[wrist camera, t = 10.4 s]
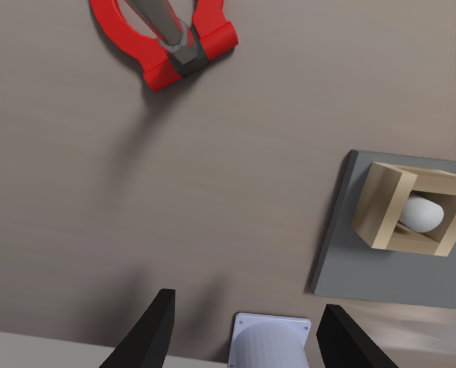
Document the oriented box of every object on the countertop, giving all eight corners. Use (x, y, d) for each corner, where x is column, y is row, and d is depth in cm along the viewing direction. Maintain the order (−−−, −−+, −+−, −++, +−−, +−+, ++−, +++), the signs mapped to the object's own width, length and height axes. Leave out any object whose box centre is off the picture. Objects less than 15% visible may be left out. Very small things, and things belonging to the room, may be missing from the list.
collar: (413, 233, 18) (447, 256, 15) (349, 226, 18) (371, 247, 15) (443, 170, 16) (487, 183, 14) (372, 161, 16) (402, 173, 13)
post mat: (463, 301, 22) (511, 341, 18) (310, 287, 22) (326, 324, 18) (545, 171, 17) (632, 188, 14) (351, 149, 17) (386, 161, 13)
